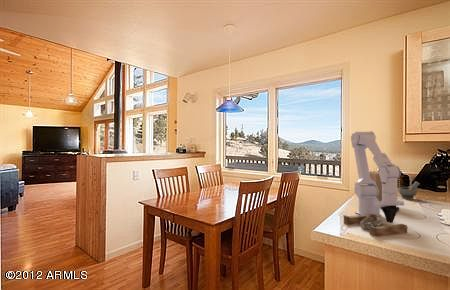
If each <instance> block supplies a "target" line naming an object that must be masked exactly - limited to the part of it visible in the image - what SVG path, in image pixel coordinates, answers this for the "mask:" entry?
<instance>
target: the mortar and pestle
mask: <svg viewBox="0 0 450 290" xmlns="http://www.w3.org/2000/svg"><path fill="white" fill-rule="evenodd" d="M419 185H421V183H420V182H418V181H414V183H412V185H411V186H410V187H408V186H399V187H397V191H398V193H399V194H400V195H401V199H403V200H407V201H408V200H410V201H411V200H414V197H415V196H416V195H417V193H418V189H417V188H418V186H419Z"/></svg>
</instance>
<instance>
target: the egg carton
mask: <svg viewBox="0 0 450 290" xmlns="http://www.w3.org/2000/svg"><path fill="white" fill-rule="evenodd" d="M359 224H360V227H361V228H360V229H361V230H368V229H369V231H370V228H369V226H373V227H380V226H385V221H383V220H379V219H377V221H374V218H372V217H369V216H366V217H365V219H363V220H362V221H361V222H360V223H359Z"/></svg>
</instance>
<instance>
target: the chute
mask: <svg viewBox="0 0 450 290" xmlns="http://www.w3.org/2000/svg"><path fill="white" fill-rule="evenodd" d="M366 216H369V217H372V218H374V221H377V220H378V216H377V215H375V214H366V215H360V214H358V215H349V216H348V215H346V214H344V215H343V224H345V223H346V224H345V225H354V224H356V223H357V224H360V222H361V221H362V220H363V219H365V217H366ZM369 228H370V230H369V236H371V235H372V236H371V237H373V236H377V237H383V236H384V235H385V236H390V235H391V236H392V235H398V234H399V235H400V234H407V233H408V225H407V224H404V223H397V224H390V225H384V226H380V227H373V226H369Z"/></svg>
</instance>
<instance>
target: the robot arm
mask: <svg viewBox="0 0 450 290" xmlns="http://www.w3.org/2000/svg"><path fill="white" fill-rule="evenodd" d="M376 138H377V136H376V135H375V133H374V131H372V130H370V131H353V132H352V134H351V136H350V141H351V147H352V149H353V152H354V157H355V163H356V169H357V175H358V180H356V181H355V182H354V194H355V195H356V197H357V198H358V210H357V211H354V213H355V214H358V215H366V214H375V215H377V217H379V216H382V214H381V210H382V212H383V215H384V217H385V220H386V221H385V222H386V223H390V224H393V223H394V220H395V218H396V214H397V213H398V212H399V211H400V207H399V206H403V207H404V206H405V201H404V200H398V179H399V178H401V175H402V172H401V169H400V166H398V165H395V163H393V162H392V161H391V160H390V158H389V157H388V155H387V154H386V153H385V152H382V151H381V148H380V147H379V145H378V143H377V141H376V140H377V139H376ZM366 149H368V150H369V151H370V152H371V154H372V155H373V157H372V160H373V161H374V163H375V165H376V166H377V169H379V170H378V171H379V176H380V179H381V182H382V201H380V202H379V200H378V199H377V198H376V197H377V196H378V194H379V190H378V187H377V186H376V182H375V181H373V180H372V179H371V178H370V173H369V172H370V169H369V163H368V158H367V153H366Z"/></svg>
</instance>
